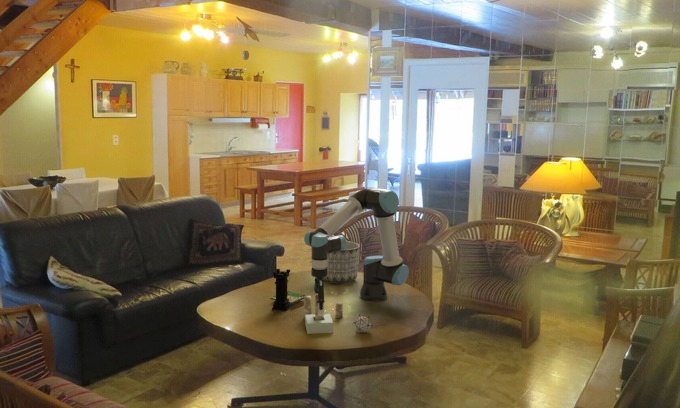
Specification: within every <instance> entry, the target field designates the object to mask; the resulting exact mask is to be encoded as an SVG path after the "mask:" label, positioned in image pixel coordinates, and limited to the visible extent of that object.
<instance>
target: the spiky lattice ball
mask: <svg viewBox="0 0 680 408" xmlns="http://www.w3.org/2000/svg"><path fill="white" fill-rule="evenodd" d="M358 316H359V317H357V319H356V320H355V321H353V322H352V324H354V325H355V327H356V328H355V329H356V333H358V332H360V333H365V334H366V335H367V334H368V333H367V332H368V331H369V330H370V328H371V327H373V326H374V325H373V324H372V323H371V320H370V316H369V315H368V317H367V316H363V315H361V314H360V313H359V315H358Z"/></svg>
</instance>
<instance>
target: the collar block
mask: <svg viewBox="0 0 680 408" xmlns="http://www.w3.org/2000/svg"><path fill="white" fill-rule="evenodd" d="M333 321H334V320H333V319H332V316H331V313H324V316H323V318H322V320H317V321H315V313H314V314H313V313H311V315H305V319H304V325H305V329H306V333H307V335H308V334H309V335H311V334H312V335H313V334H331V333H334V322H333Z"/></svg>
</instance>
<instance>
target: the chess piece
mask: <svg viewBox="0 0 680 408" xmlns="http://www.w3.org/2000/svg"><path fill="white" fill-rule="evenodd" d="M290 272H291V269H288V268H287V269H286V270H285V271H282V270H281V269H280V268H276V270H275V271H274V270H273V272H272V275H273V279H275V282H274V284H275V300H274V301H273V305H272V307H271V310H273V311H282V312H284V311H285V312H287V311H288V310H289V309H290V308H291V307H292V304H291V301H290V299H289V298H288V282H289V279H288V277H290Z"/></svg>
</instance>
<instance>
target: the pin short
mask: <svg viewBox="0 0 680 408" xmlns="http://www.w3.org/2000/svg"><path fill="white" fill-rule="evenodd" d="M343 309H344V304H343V302H340V301H339V302H335V318H337V319H342V318H343Z"/></svg>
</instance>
